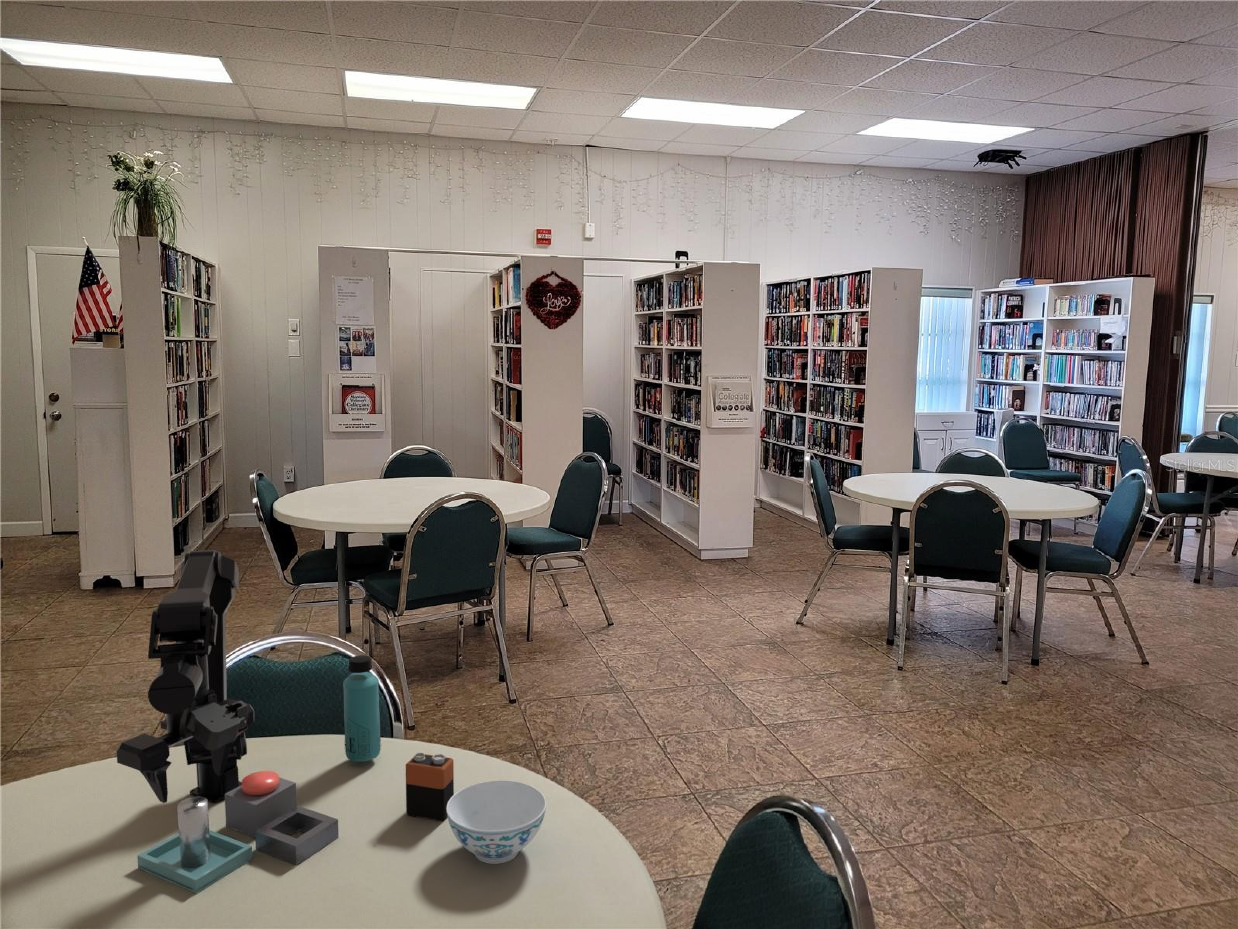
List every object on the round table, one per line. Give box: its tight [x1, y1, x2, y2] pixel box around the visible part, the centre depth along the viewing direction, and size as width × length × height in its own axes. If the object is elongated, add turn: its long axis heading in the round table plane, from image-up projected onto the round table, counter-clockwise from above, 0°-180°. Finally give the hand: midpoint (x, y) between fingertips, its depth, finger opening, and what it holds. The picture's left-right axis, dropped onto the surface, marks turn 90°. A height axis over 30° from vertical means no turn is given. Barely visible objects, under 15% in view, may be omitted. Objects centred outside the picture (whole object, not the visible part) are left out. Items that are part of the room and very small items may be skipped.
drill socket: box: [254, 805, 339, 866], centre depth 138 cm, size 8×8×3 cm
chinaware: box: [446, 779, 547, 865], centre depth 136 cm, size 15×15×8 cm
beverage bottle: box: [342, 654, 382, 763], centre depth 163 cm, size 6×7×20 cm
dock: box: [224, 776, 298, 838], centre depth 144 cm, size 7×8×6 cm
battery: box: [405, 752, 455, 822], centre depth 147 cm, size 4×7×10 cm, turn 75°
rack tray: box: [136, 829, 253, 894], centre depth 132 cm, size 13×10×2 cm
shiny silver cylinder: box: [176, 796, 211, 868], centre depth 132 cm, size 4×4×9 cm
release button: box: [240, 770, 280, 797], centre depth 144 cm, size 6×6×4 cm
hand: (192, 788), depth 131 cm, fingers open, 9 cm apart
